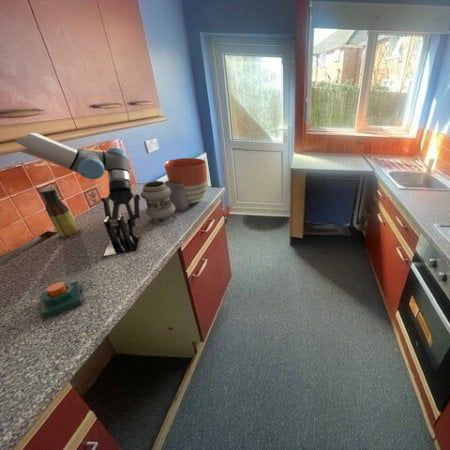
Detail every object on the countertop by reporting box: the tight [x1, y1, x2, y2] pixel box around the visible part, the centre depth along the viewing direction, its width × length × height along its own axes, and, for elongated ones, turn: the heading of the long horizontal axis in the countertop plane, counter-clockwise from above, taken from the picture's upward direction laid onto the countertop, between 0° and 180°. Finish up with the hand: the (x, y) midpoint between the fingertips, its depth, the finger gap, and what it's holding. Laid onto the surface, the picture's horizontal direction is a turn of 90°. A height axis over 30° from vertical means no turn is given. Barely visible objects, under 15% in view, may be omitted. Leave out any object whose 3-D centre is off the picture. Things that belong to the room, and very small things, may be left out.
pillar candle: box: [163, 180, 190, 212], centre depth 125 cm, size 10×10×15 cm
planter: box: [163, 157, 209, 205], centre depth 131 cm, size 20×20×21 cm
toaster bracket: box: [103, 214, 141, 257], centre depth 92 cm, size 12×10×13 cm
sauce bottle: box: [39, 187, 80, 239], centre depth 96 cm, size 6×6×20 cm
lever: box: [110, 217, 129, 227], centre depth 95 cm, size 14×4×4 cm, turn 24°
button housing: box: [39, 280, 83, 320], centre depth 70 cm, size 10×8×4 cm
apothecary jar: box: [140, 180, 176, 223], centre depth 111 cm, size 12×12×18 cm
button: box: [45, 281, 67, 297], centre depth 68 cm, size 4×4×2 cm
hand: (125, 235), depth 99 cm, fingers closed on lever, 3 cm apart
